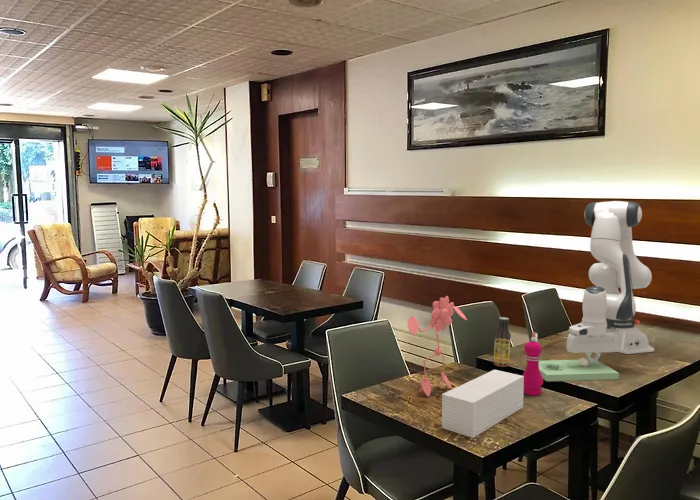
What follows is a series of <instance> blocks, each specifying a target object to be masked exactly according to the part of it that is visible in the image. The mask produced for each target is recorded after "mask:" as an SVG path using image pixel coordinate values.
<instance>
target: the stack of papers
mask: <svg viewBox="0 0 700 500" xmlns="http://www.w3.org/2000/svg"><path fill="white" fill-rule="evenodd" d="M524 386H525V385H524V376H523V375H522V374H521V375H520V374H517V373H511V372H506V371H504V370H503V371H502V370H498V369H492V370H490V371H488V372H487V373H484V374H482V375H480V376H478V377H475V378H474V379H471V380H470V381H467V382H465V383H463V384H461V385H459V386H457V387H455V388H451V389H450V390H448V391H446V392H444V393H441V397H442V398H441V400H442V401H441V429H444V430H447V431H451V432H453V433H457V434H460V435H462V436H466V437H469V438H471V439H474V438H475V437H477V436H478V435H480V434H482V433H483V432H485V431H486V430H488V429H490V428H492V427H494V426H495V425H497V424H498V423H499V422H501V421H502V420H505V419H506V418H508V417H510V416H511V415H513V414H514V413H516V412H518V411H519V410H521V409H522V408H524V394H525V393H524V391H523V390H524V388H523V387H524Z"/></svg>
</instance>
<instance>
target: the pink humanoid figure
mask: <svg viewBox="0 0 700 500" xmlns="http://www.w3.org/2000/svg"><path fill="white" fill-rule="evenodd" d="M432 308H433V310H432V311H431V313H430V317H431V318H430V321H429V325H430V326H428V327H426V328H423V329H422V330H421V328H420V327H419V326H420V325H419V321H418V320H417V318H416V317H414V316H413V315H410V317H409V318H408V321H407V328H408V330H409V332H410V333H411V334H412V335H413V336H415V335H416V334H417V332H419V333H421V334H422V333H423V332H425V331H427V330H428V329H430V328H433V330H434V333H435V335H436V341H437V342H436V343H437V347H436V348H435V349H434V350H433V354H432V355H430V356H429V357H428V358H426V359H424V360H423V369H424V371H423V372H424V376H423V377H422V378H421V386H420V389H419V391H418V392H419V393H421V392H422V390H423V392H424V394H425V395H426V396H427V398H429V397H430V394H431V392H432V383H431V382H430V380H429V378H428V377H427V373H426V372H427V371H426V361H427V360H429V359H431V358H433V357H435V356H440V355H442V371H441V372H440V374H441V376H440V378H439V381H438V382H437V384H436V387H437V388H439V385H440V384H441V381H442V380H443V382H444V383H445V384H446V386H447V387H448V388H449V389H450V390H452V386H451V383H450V381H449V379H448V377H447V375H446V374H445V361H444V359H445V356H444V354H443V352H442V349H441V348H440V339H439V335H438V333H437V332H440V331H445V330H446V328H447V326H451V325H452V323H453V319H452V318H451V317H452V316H453V315H454V312H456V314H457V315H458V316H459V317H460V318H462V319H463V320H465V321H468V319H467V317H466V315H465V314H464V313H463V312H462V311H461V310H460V309H459V307H457V306H455V304H454V302H453V301H452V302H450V299H449V296H448V295H446V296H445V297H440V298H439V300H438V301H437V300H436V301H433V302H432ZM406 395H407V396H409V394H407V393H406Z"/></svg>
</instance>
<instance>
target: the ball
mask: <svg viewBox="0 0 700 500" xmlns="http://www.w3.org/2000/svg"><path fill="white" fill-rule="evenodd" d="M587 359H588V358H586V357H581V358H579V359H578V360H579V364H580V365H581V366H583V367H585V366H587V365H588V360H587Z"/></svg>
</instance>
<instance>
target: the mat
mask: <svg viewBox="0 0 700 500" xmlns="http://www.w3.org/2000/svg"><path fill="white" fill-rule="evenodd" d="M532 337H534V338H536V341H535V342H538V332H537V333H536V332H534V331H531V338H532ZM586 359H587V360H588V358H586ZM539 370H540V373H541V375H542V378H543V381H545V382H570V381H571V382H573V381H579V382H580V381H605V380H607V381H608V380H611V381H612V380H619V377H620V373H619V372H618V371H616V370H615V369H613V368H612V367H609V366H608V365H606V364H605V363H603V362H601V361H599V360H597V363H596V364H590V363H588V365H587V366H585V367H583V366H581V365H580V364H579V359H553V360H552V359H550V360H539Z"/></svg>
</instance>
